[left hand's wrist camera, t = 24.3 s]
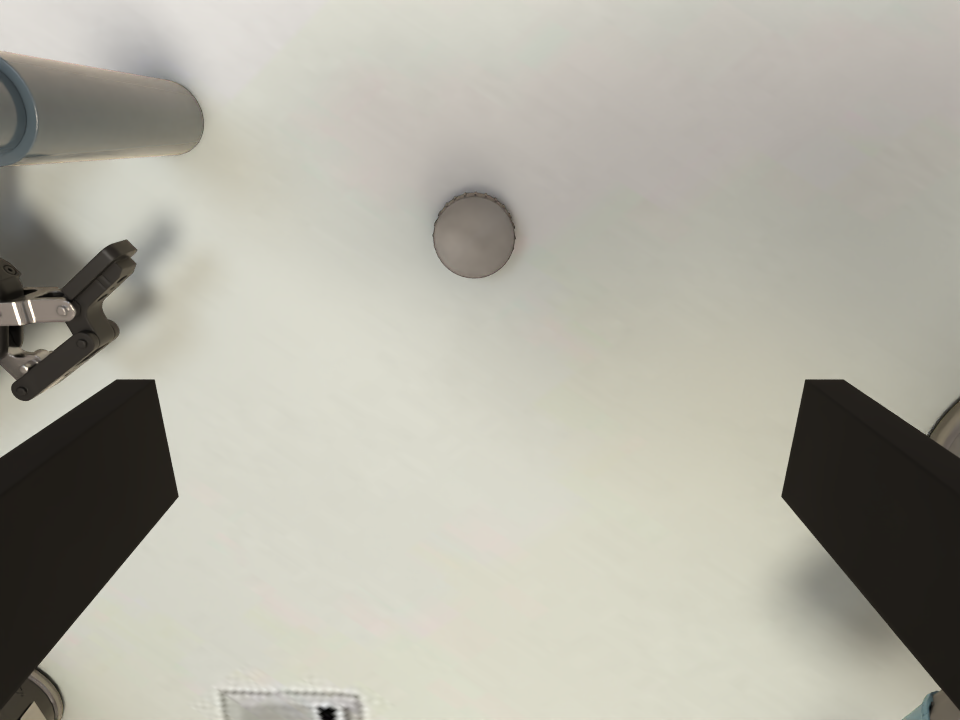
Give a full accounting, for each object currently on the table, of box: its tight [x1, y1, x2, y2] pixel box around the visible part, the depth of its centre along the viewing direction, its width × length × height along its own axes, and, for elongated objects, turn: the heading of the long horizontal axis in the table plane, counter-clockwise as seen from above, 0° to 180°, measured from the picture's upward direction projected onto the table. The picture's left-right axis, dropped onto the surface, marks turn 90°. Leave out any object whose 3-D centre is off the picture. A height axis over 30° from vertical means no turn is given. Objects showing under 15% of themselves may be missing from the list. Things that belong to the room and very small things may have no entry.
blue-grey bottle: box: [0, 51, 203, 167], centre depth 27 cm, size 4×4×16 cm
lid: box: [433, 192, 516, 278], centre depth 36 cm, size 5×5×2 cm
